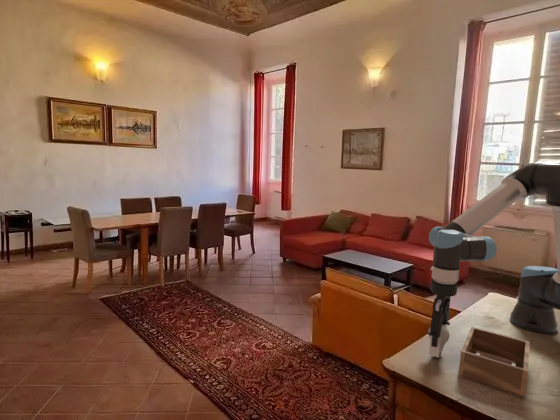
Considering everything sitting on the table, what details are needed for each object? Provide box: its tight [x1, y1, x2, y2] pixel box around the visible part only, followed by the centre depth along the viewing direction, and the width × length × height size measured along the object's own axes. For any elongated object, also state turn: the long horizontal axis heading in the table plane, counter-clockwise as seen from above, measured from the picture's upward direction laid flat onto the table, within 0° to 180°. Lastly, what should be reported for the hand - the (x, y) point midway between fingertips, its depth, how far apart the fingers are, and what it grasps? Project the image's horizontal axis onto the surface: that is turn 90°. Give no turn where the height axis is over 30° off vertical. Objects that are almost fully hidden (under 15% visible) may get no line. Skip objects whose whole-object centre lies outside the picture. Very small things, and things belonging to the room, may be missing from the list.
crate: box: [457, 326, 531, 399], centre depth 109 cm, size 20×16×8 cm
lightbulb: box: [427, 325, 451, 359], centre depth 115 cm, size 6×6×11 cm
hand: (437, 349), depth 116 cm, fingers open, 8 cm apart
